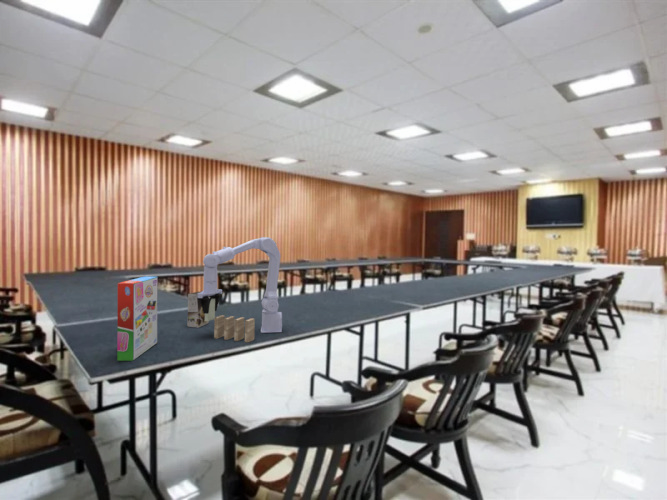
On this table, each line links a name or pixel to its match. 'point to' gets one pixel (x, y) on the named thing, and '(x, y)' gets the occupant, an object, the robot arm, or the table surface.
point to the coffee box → (195, 311)
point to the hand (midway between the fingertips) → (210, 312)
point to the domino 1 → (211, 311)
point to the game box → (136, 317)
